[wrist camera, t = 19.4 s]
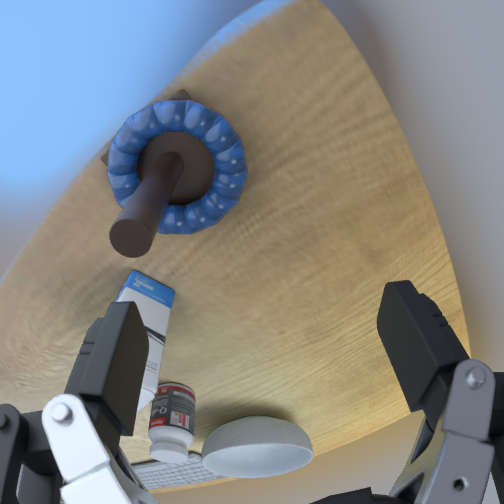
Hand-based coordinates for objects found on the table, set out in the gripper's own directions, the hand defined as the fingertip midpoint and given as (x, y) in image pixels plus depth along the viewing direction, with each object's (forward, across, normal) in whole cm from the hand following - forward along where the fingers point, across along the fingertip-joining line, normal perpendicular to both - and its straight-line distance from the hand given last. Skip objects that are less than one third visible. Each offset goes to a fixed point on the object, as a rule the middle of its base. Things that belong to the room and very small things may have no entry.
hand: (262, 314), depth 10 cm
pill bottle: (+17, +12, +30) cm, 36 cm away
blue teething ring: (+14, +5, 0) cm, 15 cm away
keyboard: (+17, +28, +68) cm, 75 cm away
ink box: (+17, +12, +14) cm, 25 cm away
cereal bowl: (+17, +1, +41) cm, 45 cm away
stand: (+17, +6, -1) cm, 18 cm away
